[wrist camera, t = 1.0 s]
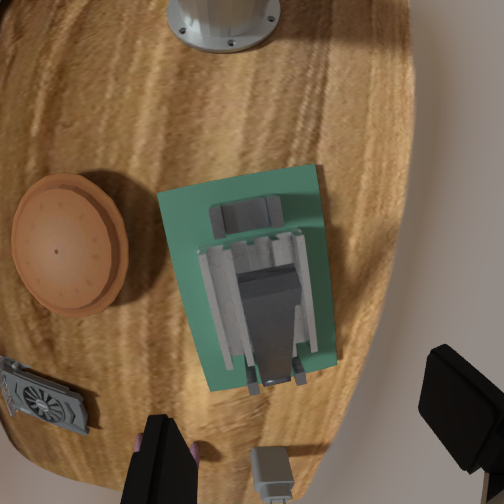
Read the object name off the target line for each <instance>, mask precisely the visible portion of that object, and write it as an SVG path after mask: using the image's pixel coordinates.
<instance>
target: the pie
mask: <svg viewBox="0 0 504 504" xmlns="http://www.w3.org/2000/svg"><path fill="white" fill-rule="evenodd" d="M11 238H12V256H13V259H14V262H15V265H16V268H17V271H18V273H19V275H20V277H21V279H22V280H23V282H24V284H25V286H26V287H27V289H28V290H29V291H30V293H31V294H32V295H33V296H34V297H35V298H36V299H37V301H38V302H39V303H40V304H42V305H43V306H45V307H46V308H48V309H49V310H51V311H52V312H54V313H56V314H60V315H63V316H66V317H69V318H74V317H86V316H90V315H93V314H97V313H100V312H102V311H103V310H105V309H106V308H107V307H108V306H109V305H110V304H111V303H112V302H113V301H115V299H116V297H117V295H118V294H119V292H120V290H121V289H122V287H123V285H124V283H125V279H126V275H127V271H128V267H129V241H128V237H127V232H126V228H125V223H124V219H123V217H122V215H121V214H120V212H119V210H118V208H117V206H116V204H115V202H114V201H113V199H112V198H111V197H110V196H109V195H107V194H106V193H105V192H104V191H103V190H102V189H101V188H100V187H99V186H98V185H96V184H94V183H93V182H91V181H90V180H88V179H87V178H85V177H84V176H82V175H78V174H71V173H59V174H53V175H48V176H45V177H44V178H42V179H41V180H39V181H38V182H36V183H35V184H33V185H32V186H31V187H30V189H29V190H28V191H27V192H26V194H25V195H24V196H23V198H22V199H21V201H20V204H19V206H18V209H17V211H16V214H15V216H14V222H13V228H12V235H11Z"/></svg>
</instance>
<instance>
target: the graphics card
mask: <svg viewBox="0 0 504 504" xmlns="http://www.w3.org/2000/svg"><path fill="white" fill-rule="evenodd" d="M7 359H8V360H7ZM26 368H30V366H27V365H25V364H22V363H20V362H18V361H15V360H13V359H11V358H9V357H2V356H1V355H0V371H1V372H2V373H1V372H0V374H1V375H2V376H3V377H2V376H1V375H0V379H1V380H0V387H1V390H2V392H3V395H4V398H5V401H6V404H7V406H8V409H9V412H10V414H11V416H13V418H14V417H15V416H16V414H15V411H16V410H17V412H18V411H19V410H21V411H23V412H25V413H27V414H30V415H32V416H34V417H37V418H39V419H41V420H44V421H46V422H49V423H51V424H54V425H57V426H59V427H62V428H65V429H68V430H70V431H73V432H76V433H79V434H82V435H88V433H89V430H90V429H89V428H88V427H87V419H88V414H87V412H86V410H85V407H84V405H83V403H82V401H83V400H84V398H83V397H82V396H81V394H79V393H75V392H72V391H69V388H68V387H65V386H63V385H60V384H57V383H54V382H52V381H49V380H46V379H44V378H41V377H39V376H36V375H34V374H31V373H29V372H24V371H22V370H21V369H26ZM3 381H4V383H3V385H2V382H3ZM5 383H6V385H5ZM3 386H6V389H8V392H7V393H6V395H5V392H6V389H5V388H4V390H3ZM26 389H27V390H26ZM8 393H9V395H10V397H11V399H10V401H9V404H8V400H9V398H10V397H9V396H8V398H7V395H8ZM28 395H29V396H28ZM6 398H7V399H6ZM11 403H12V404H11ZM10 405H11V406H10ZM12 406H13V407H12ZM11 408H12V409H11ZM13 409H14V410H13ZM12 411H13V412H12ZM50 415H51V416H52V417H51V416H50ZM75 415H76V417H75Z"/></svg>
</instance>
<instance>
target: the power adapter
mask: <svg viewBox="0 0 504 504" xmlns="http://www.w3.org/2000/svg"><path fill="white" fill-rule="evenodd" d="M250 457H251V465H252V474H253V482H254V489H255V491H256V492H260V497H261V501H263V502H264V503H270V504H272V503H279V502H283V504H286V503H285V502H287V501H289V500H291V499H292V494H291V489H292V487H293V485H294V479H293V475H292V471H291V467H290V463H289V458H288V454H287V450H286V448H285V447H254V448H252V450H251V455H250Z"/></svg>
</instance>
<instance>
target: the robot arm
mask: <svg viewBox="0 0 504 504" xmlns="http://www.w3.org/2000/svg"><path fill="white" fill-rule="evenodd" d="M280 13H281V9H280V2H279V0H169V3H168V6H167V19H168V23H169V26H170V28H171V30H172V32H173V33H174V34H175V36H176V37H177V38H178V39H179V40H181V41H182V42H183V43H185V44H186V45H188V46H190V47H192V48H195V49H198V50H201V51H206V52H212V53H229V52H237V51H241V50H245V49H248V48H250V47H252V46H255V45H257V44H258V43H260V42H262V41H263V40H265V39H266V38H267V37H268V36H269V35H270V34H271V33H272V32H273V30H274V29H275V27H276V25H277V23H278V20H279V17H280ZM270 21H271V22H270ZM183 33H185V34H183ZM229 45H233V46H229ZM418 410H419V413H420V414H421V416H422V417H423V419H424V420H425V421H426V422H427V424H428V425H429V426H430V428H431V429H432V430H433V432H434V433H435V434H436V436H437V437H438V438H439V440H440V441H441V442H442V444H443V445H444V446H445V447H446V449H447V450H448V452H449V453H450V454H451V456H452V457H453V458H454V460H455V461H456V462H457V464H458V465H459V467H460V468H461V469H462V470H464V471H466V470H467V472H468V473H469V474H472V473H473V472H475V471H476V470H478V469H479V468H481V467H482V469H483V470H484V471H485V472H484V482H483V490H482V498H481V504H504V393H503V392H502V391H501V390H500V389H499V388H497V387H496V386H495V385H494V384H493V383H492V382H491V381H490V380H488V379H487V378H486V377H485V376H484V375H483V374H482V373H480V372H479V371H478V370H477V369H476V368H474V367H473V366H472V365H471V364H470V363H469V362H468V361H466V360H465V359H464V358H463V357H462V356H460V355H459V354H458V353H457V352H456V351H455V350H453V349H452V348H451V347H450V346H448V345H447V344H443V345H440V346H438V347H436V348H434V349H432V350H431V351H430V354H429V355H428V356H427V362H426V368H425V374H424V380H423V385H422V390H421V395H420V400H419V405H418ZM197 488H198V466H197V463H196V461H195V459H194V457H193V455H192V454H191V452H190V450H189V448H188V446H187V444H186V442H185V441H184V439H183V437H182V435H181V433H180V431H179V429H178V427H177V425H176V423H175V421H174V419H173V418H168V416H167V415H166V414H160V415H149V416H148V418H147V422H146V426H145V430H144V434H143V438H142V442H141V446H140V450H139V451H136V452H134V453H133V455H132V457H131V461H130V465H129V469H128V473H127V477H126V481H125V485H124V490H123V494H122V498H121V503H120V504H197Z"/></svg>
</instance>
